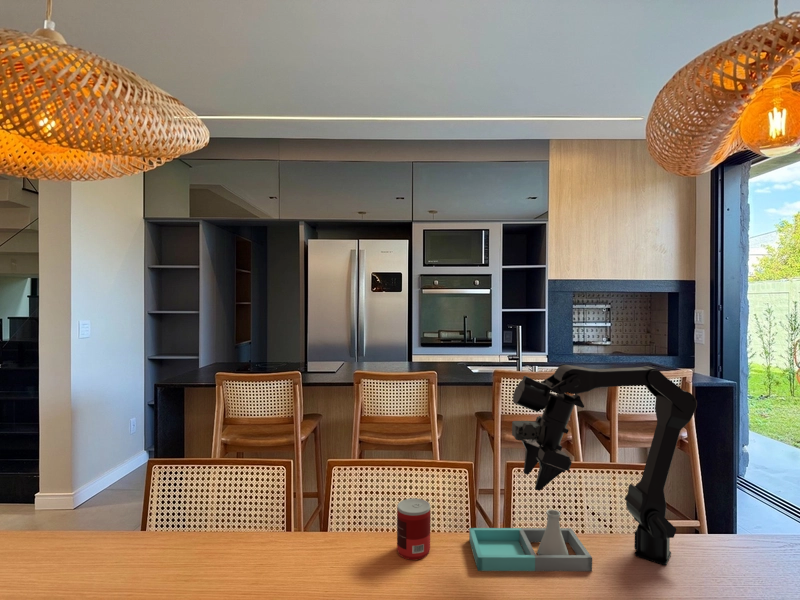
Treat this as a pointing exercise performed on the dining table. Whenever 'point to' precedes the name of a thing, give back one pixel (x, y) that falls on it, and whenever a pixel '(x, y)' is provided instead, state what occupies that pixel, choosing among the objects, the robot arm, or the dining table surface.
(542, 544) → the flask
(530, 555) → the tray
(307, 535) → the dining table surface
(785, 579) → the dining table surface
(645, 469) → the robot arm
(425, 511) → the canned food
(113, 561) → the dining table surface
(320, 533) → the dining table surface
